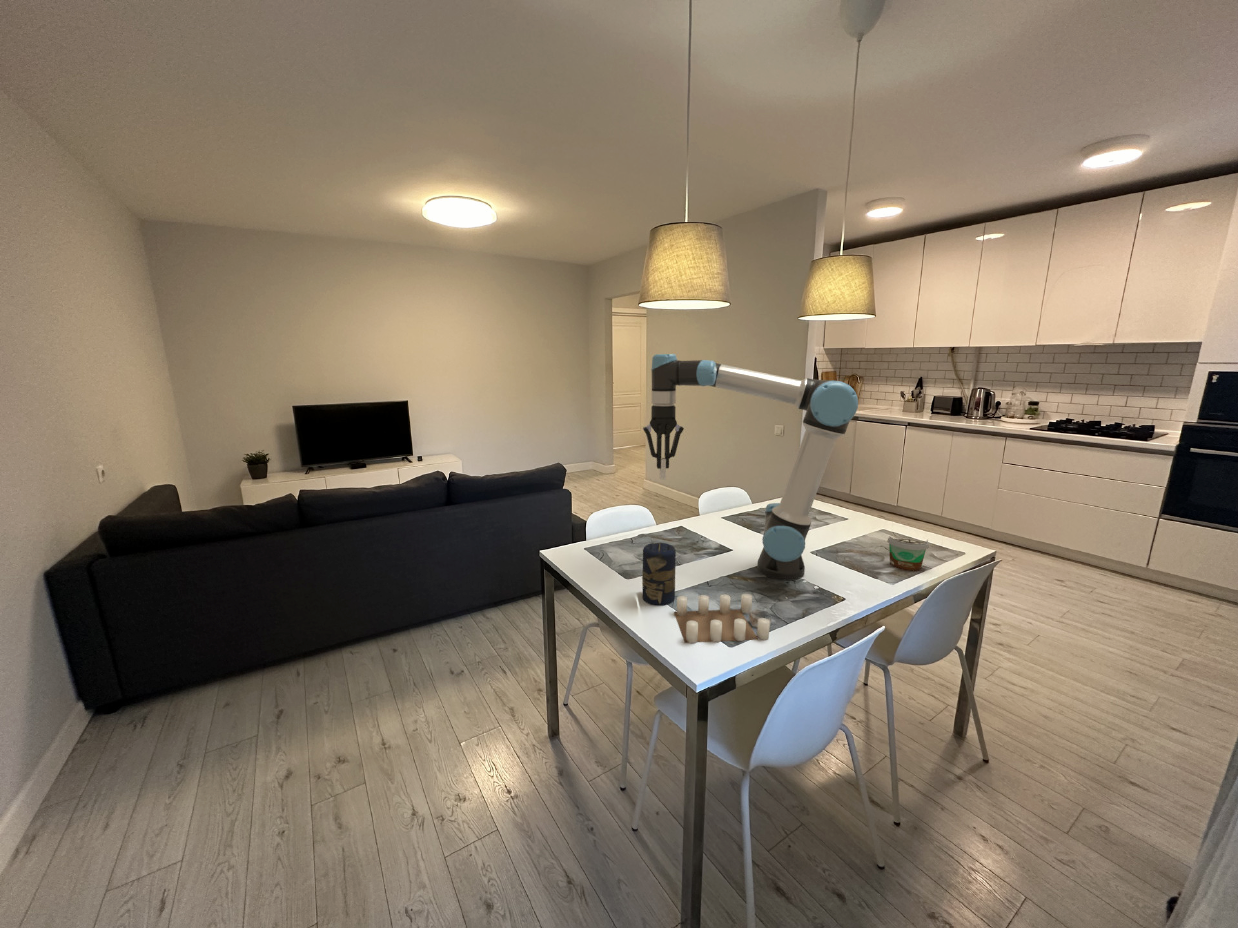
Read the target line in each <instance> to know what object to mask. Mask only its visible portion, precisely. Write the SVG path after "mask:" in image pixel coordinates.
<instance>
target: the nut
mask: <svg viewBox="0 0 1238 928" xmlns="http://www.w3.org/2000/svg"><path fill="white" fill-rule="evenodd" d="M748 614H749V617H748V623H749V624H750V626H752V628H757V629H758V619H759V618H766V619H768V620H769V621H770V626H769V628H770V627H771V626H772V616H771V614H770V613H769V612H768V611H766V610H763V609H762V610H761V609H757V608H755V610H751V612H750V613H748Z"/></svg>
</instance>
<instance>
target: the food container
mask: <svg viewBox="0 0 1238 928" xmlns="http://www.w3.org/2000/svg"><path fill="white" fill-rule="evenodd" d="M887 543H888V544H889V545H888V546H889V548H888V549H889V555H888V556H889V565H890V566H892V567H893V568H896V569H898V570H902V571H907V572H918V571H921V569H922V567H923V561H924V558H925V555H926V550H928V549H929V548H930V543H929V539H927V540H926V541H920V540H913V539H910V538H909V539H908V538H905V539H903V538H901V539H900V538H899V539H898V538H893V537H891V536H890V535H889V536H888V538H887Z"/></svg>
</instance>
